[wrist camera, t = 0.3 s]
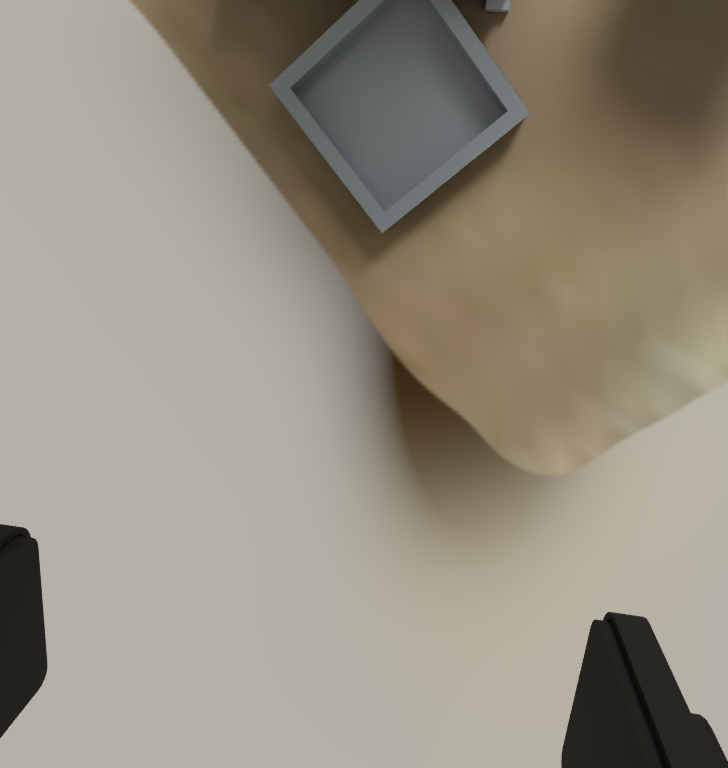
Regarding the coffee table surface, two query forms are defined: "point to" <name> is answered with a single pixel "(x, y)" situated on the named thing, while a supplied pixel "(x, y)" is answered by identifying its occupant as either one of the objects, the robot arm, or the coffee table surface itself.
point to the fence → (497, 6)
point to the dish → (398, 101)
